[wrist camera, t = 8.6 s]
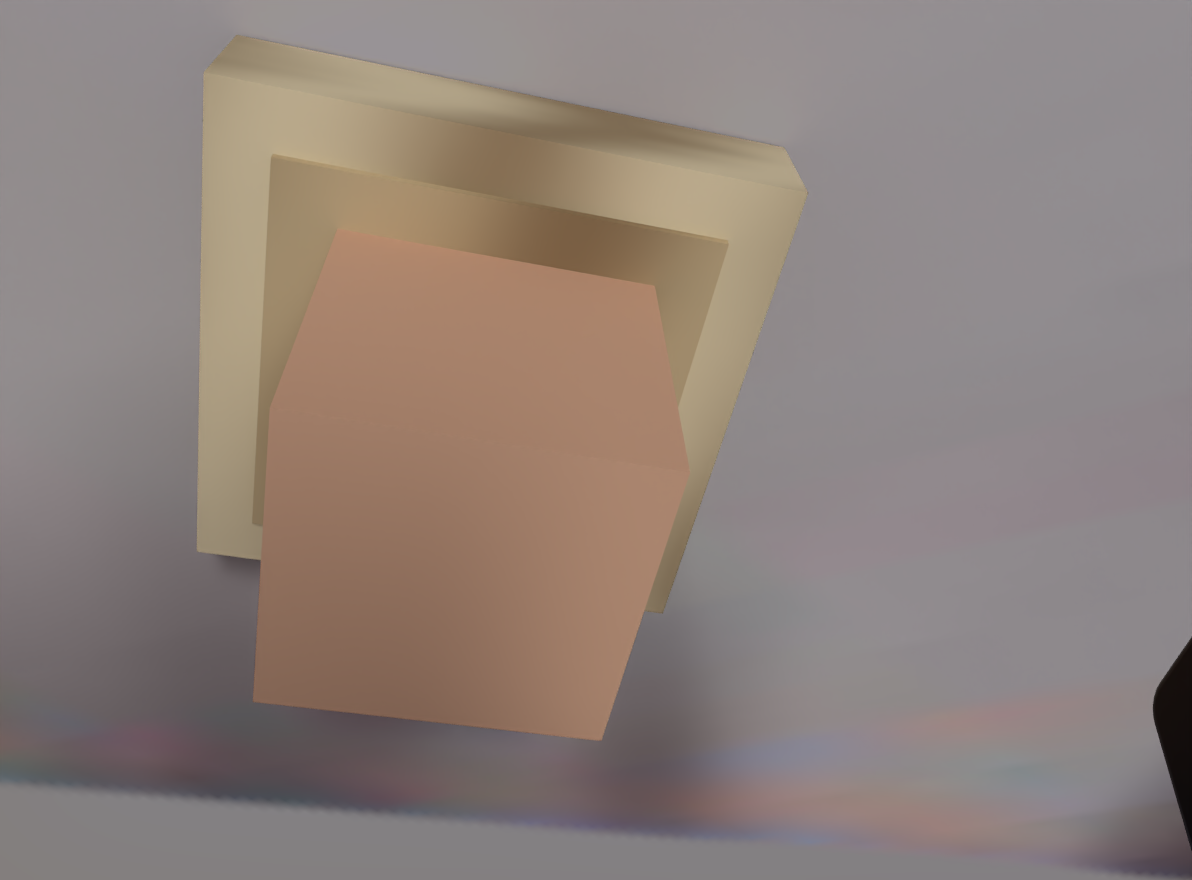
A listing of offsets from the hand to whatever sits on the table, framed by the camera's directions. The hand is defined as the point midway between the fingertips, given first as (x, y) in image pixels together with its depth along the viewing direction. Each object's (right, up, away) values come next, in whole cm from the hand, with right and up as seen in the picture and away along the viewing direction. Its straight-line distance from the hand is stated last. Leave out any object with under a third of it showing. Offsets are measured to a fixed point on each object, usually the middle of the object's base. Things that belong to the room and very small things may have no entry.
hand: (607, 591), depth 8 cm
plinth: (-2, +3, +12) cm, 13 cm away
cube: (-2, +2, +11) cm, 11 cm away
